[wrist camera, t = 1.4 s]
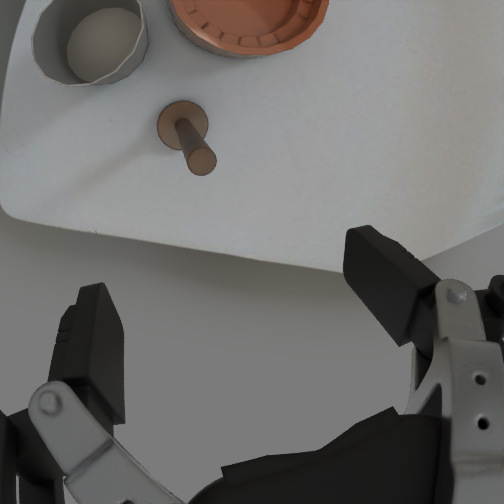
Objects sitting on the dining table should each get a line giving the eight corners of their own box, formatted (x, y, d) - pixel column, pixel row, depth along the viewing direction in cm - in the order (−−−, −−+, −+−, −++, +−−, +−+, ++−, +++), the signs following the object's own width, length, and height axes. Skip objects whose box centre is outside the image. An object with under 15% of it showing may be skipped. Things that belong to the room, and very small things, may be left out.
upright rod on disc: (148, 133, 29) (139, 180, 16) (174, 91, 28) (187, 99, 15) (189, 155, 32) (216, 218, 18) (215, 115, 30) (264, 146, 17)
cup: (65, 20, 20) (29, 0, 12) (144, -1, 22) (139, -33, 13) (73, 94, 24) (38, 102, 16) (151, 74, 26) (148, 71, 18)
